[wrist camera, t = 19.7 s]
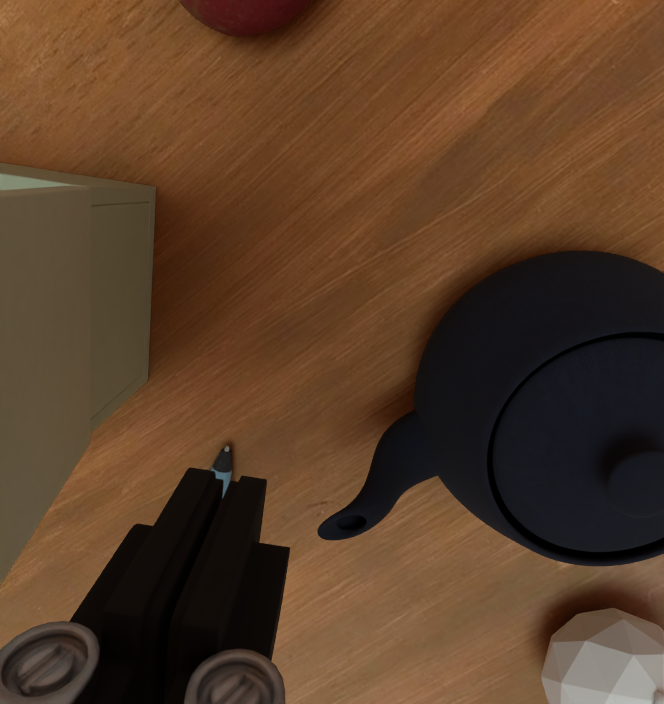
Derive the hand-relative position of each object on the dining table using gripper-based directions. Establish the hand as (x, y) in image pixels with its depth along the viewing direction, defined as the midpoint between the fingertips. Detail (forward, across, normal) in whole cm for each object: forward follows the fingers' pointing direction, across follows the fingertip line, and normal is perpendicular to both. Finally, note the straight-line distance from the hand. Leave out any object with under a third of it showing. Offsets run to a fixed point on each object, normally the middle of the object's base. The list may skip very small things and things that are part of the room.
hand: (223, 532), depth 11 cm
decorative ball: (+21, -21, +20) cm, 36 cm away
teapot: (+21, -13, +2) cm, 25 cm away
